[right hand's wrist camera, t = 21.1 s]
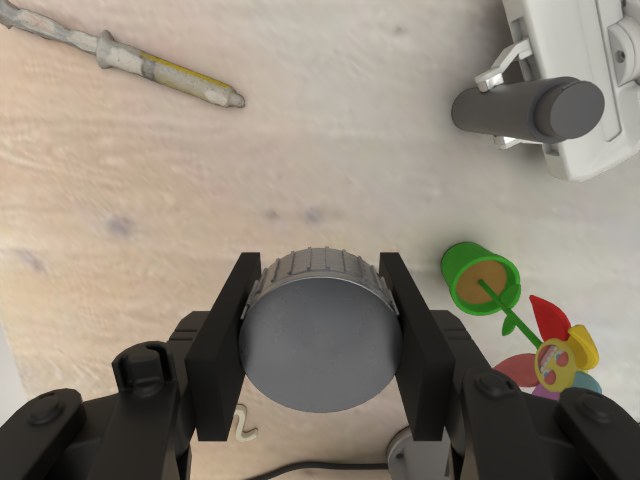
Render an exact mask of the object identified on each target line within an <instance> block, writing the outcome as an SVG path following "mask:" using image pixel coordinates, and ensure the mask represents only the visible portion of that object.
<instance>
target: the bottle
mask: <svg viewBox="0 0 640 480" xmlns="http://www.w3.org/2000/svg"><path fill="white" fill-rule="evenodd" d="M604 108H605V99H604V95H603V93H602V91H601V90H600V89H599V87H597V86H596V85H595V84H593V83H592V82H589V81H585V80H584V81H581V80H579V79H577V78H574V77H569V76H564V77H556V78H548V79H540V80H532V81H525V82H517V83H509V84H501V85H498V86H494V87H493V88H492V89H491V90H488V91H486V92H481V93H479V91H478V88H471V89H468V90H465V91H464V92H462V93H461V94H460V95H459V96H458V97H457V98H456V100H455V102H454V104H453V107H452V119H453V122H454V123H455V125H456V126H457V127H458V128H460V129H462V130H464V131H470V132H477V133H483V134H489V135H496V136H502V137H508V138H515V139H521V140H527V141H534V142H540V143H546V144H555V143H560V142H563V141H565V140H567V139H576V138H579V137H582V136H584V135H586V134H587V133H589V132H590V131H591V130H593V129H594V128H595V126H596V125H597V124H598V123H599V121H600V119H601V117H602V115H603V112H604Z"/></svg>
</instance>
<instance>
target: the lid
mask: <svg viewBox="0 0 640 480" xmlns="http://www.w3.org/2000/svg"><path fill="white" fill-rule="evenodd" d="M398 317H400V314H399V312H398V309H397V306H396V304H395V301H394V299H393V296H392V294H391V291H390V290H388V287H387V284H386V282H385V279H384V277H380V276H379V274H378V273H377V272H376V270H375V267H374V266H373V265H372V266H370V265H369V264H368V263H366V262H365V261H363V260H362V258H361V257H360V256H358V257H356V256H355V255H352V254H350V253H347V252H346V250H344V249H343V250H342V251H340V250H336V249H329V247H325V248H312V249H311V247H308V249H305V250H301V251H297V252H294V251H291V254H289V255H287V256H285V257H283V258H281V259H279V258H277V259H276V262H275V263H274V264H272V265H271V266H270V267H269V268H268V269H267V268H265V269H264V271H263V274H262V276H261V277H260V278H259V280H256V281H255V283H254V285H253V288H252V291H251V293H250V294H249V297H248V300H247V302H246V305H245V308H244V310H243V313H242V316H241V318H240V321H242V323H241V326H240V329H239V334H238V354H239V358H240V362H241V365H242V367H243V370H244V372H245V373H246V375H247V377H248V378H249V380H250V381H251V382H252V383H253V385H254V386H255V387H256V388H257V389H258V390H259V391H260V392H262V393H263V394H264V395H266V396H267V397H268V398H270V399H272V400H273V401H275V402H277V403H279V404H281V405H284V406H286V407H289V408H292V409H295V410H300V411H305V412H314V413H327V412H336V411H341V410H346V409H349V408H352V407H355V406H358V405H360V404H362V403H364V402H366V401H368V400H370V399H371V398H373V397H374V396H376V395H377V394H378V393H380V392H381V391H382V390H383V389H384V388H385V387H386V386H387V385H388V384H389V382H390V381H391V380H392V379H393V377H394V375H395V374H396V372H397V370H398V368H399V366H400V363H401V356H402V347H403V332H402V328H401V325H400V322H399V319H398Z"/></svg>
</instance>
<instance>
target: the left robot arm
mask: <svg viewBox="0 0 640 480" xmlns="http://www.w3.org/2000/svg"><path fill="white" fill-rule="evenodd" d="M502 2H503V5H504V9H505V13H506V16H507V20H508V24H509V27H510V31H511V35H512V38H513V42H514V44H512V45H510V46H508V47H507V48H505V49H503V51H502V52H501V54H500V55H499V56H498V58H497V59H496V61H495V62H494V63H493V65H492V66H491V69H490V70H488V71H486V72H484V73H482V74H480V75H479V76H477V77H475V82H476V85H477V88H478V91H479V93H481V92H486V91H488V90H491V89H492V88H493V87H494V86H498V85H500V84H502V83H504V81H503V77H502V73H503V72H504V71H505V70H506V68H507V67H508V66H509V65H510V63H511V62H514V61H518V60H519V64H520V68H521V72H522V75H523V79H524V82H525V81H532V80H540V79H548V78H556V77H564V76H569V77H574V78H577V79H579V80H581V81H584V80H585V81H589V82H592V83H593V84H595V85H596V86H597V87H599V89H600V90H601V91H602V93H603V95H604V99H605V108H604V112H603V115H602V117H601V119H600V121H599V123H598V124H597V125H596V126H595V128H594V129H593V130H591V131H590V132H589V133H587V134H586V135H584V136H582V137H579V138H576V139H567V140H565V141H563V142H560V143H555V144H546V143H540V142H534V141H527V140H521V139H515V138H508V137H502V136H496V135H493V137H494V141H495V145H496V148H497V149H501V150H503V149H507V148H509V147H511V146H514V145H516V144H518V143H533V144H541V145H542V149H543V153H544V156H545V160H546V164H547V167H548V171H549V174H550V175H551V176H553V177H555V178H558V179H561V180H564V181H568V182H583V181H586V180H588V179H590V178H593V177H595V176H597V175H599V174H601V173H603V172H605V171H607V170H609V169H611V168H613V167H615V166H617V165H618V164H620V163H622V162H624V161H626V160H627V159H629V158H631V157H632V156H634V155H635V154H636V153H637V152H639V151H640V0H502Z"/></svg>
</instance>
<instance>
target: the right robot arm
mask: <svg viewBox="0 0 640 480" xmlns="http://www.w3.org/2000/svg"><path fill="white" fill-rule="evenodd" d="M261 276H262V275H261V261H260V252H242V253H241V255H240V257H239V259H238V261H237V262H236V264H235V266H234V268H233V270H232V272H231V274H230V275H229V277H228V279H227V281H226V283H225V285H224V287H223V288H222V290H221V292H220V294H219V296H218V298H217V300H216V301H215V303H214V305H213V307H212V309H211V311H193V312H191V313H190V314H189V315H187V316H186V317H185V318H183V319H182V320H181V321H180V323H179V324H178V326H177V327H176V329H175V331H174V332H173V333H172V335H171V336H170V338H169V341H167V342H166V343H164V342H161V341H148V342H144V343H140V344H136V345H134V346H132V347H130V348H127V349H125V350H124V351H123V352H121V353H120V354H119V355H117V356H116V358H115V359H114V361H113V362H112V363H111V364H112V368H113V371H114V375H115V379H116V383H117V386H118V390H119V392H118V393H116V394H113V395H110V396H106V397H102V398H97V399H93V400H89V401H85V402H83V400H82V397H81V394H80V393H79V392H77V391H76V390H74V389H68V388H64V389H57V390H53V391H50V392H47V393H44V394H41V395H39V396H38V397H36V398H34V399H32V400H30V401H29V402H27V403H26V404H25V405H23V406H22V407H21V408H20V409H19V410H17V411H16V412H15V413H14V414H13V415H12V416H11V417H10V418H9V419H8V420H7V421H6V422H5V424H3V425H2V426H1V427H0V480H190V470H191V459H192V454H191V447H190V441H191V438H192V435H193V433H194V430H195V428H196V430H197V436H198V441H227V438H228V434H229V431H230V427H231V424H232V420H233V417H234V413H235V409H236V406H237V402H238V399H239V395H240V392H241V388H242V384H243V381H244V377H245V374H246V373H245V372H244V370H243V367H242V365H241V362H240V358H239V354H238V334H239V329H240V326H241V323H242V321H240V318H241V316H242V313H243V310H244V308H245V305H246V302H247V300H248V297H249V294H250V293H251V291H252V288H253V285H254V283H255V281H256V280H259V278H260V277H261ZM379 276H380V277H384V279H385V282H386V284H387V287H388V290H390V291H391V294H392V296H393V299H394V301H395V304H396V306H397V309H398V312H399V314H400V317H398V319H399V322H400V325H401V328H402V332H403V347H402V356H401V363H400V366H399V368H398V370H397V372H396V374H395V377H396V380H397V384H398V387H399V391H400V394H401V398H402V402H403V405H404V409H405V412H406V416H407V419H408V423H409V427H407V428H405V429H404V430H402V431H401V432H399V433H398V434H397V435H396V436H395V437H394V438H393V439H392V441H391V442H390V444H389V446H388V449H387V453H386V458H387V463H383V464H332V463H320V462H305V463H298V464H293V465H289V466H286V467H283V468H281V469H278V470H276V471H274V472H271V473H269V474H266V475H263V476H260V477H257V478H254V479H251V480H268V479H271V478H273V477H276V476H278V475H281V474H283V473H286V472H289V471H292V470H296V469H302V468H324V469H338V470H372V469H389V473H390V475H391V477H392V479H393V480H640V425H639V424H638V423H637V422H636V421H635V420H634V419H633V418H632V417H631V416H630V415H629V414H628V413H627V412H626V411H625V410H624V409H623V408H622V407H620V406H619V405H618V404H617V403H616V402H614V401H613V400H611V399H609V398H608V397H606V396H604V395H602V394H600V393H598V392H595V391H592V390H589V389H586V388H579V387H570V388H565V389H564V390H563V391H562V392H560V395H559V398H558V401H557V400H553V399H549V398H545V397H540V396H536V395H532V394H528V393H525V392H522V391H521V390H520V388H519V387H518V385H517V383H516V382H515V381H513V380H512V379H511V378H510V377H509V376H507V375H506V374H504V373H502V372H500V371H498V370H495V369H492V368H491V366H490V365H489V363H488V362H487V360H486V359H485V357H484V356H483V354H482V353H481V351H480V350H479V348H478V347H477V345H476V344H475V342H474V341H473V340H472V339H471V336H470V335H469V333H468V331H466V328H465V327H464V325H463V324H462V322H461V321H460V319H459V318H457V317H456V316H455V315H453V314H452V313H451V312H449V311H448V310H429V308H428V307H427V305H426V303H425V301H424V299H423V297H422V295H421V294H420V292H419V290H418V288H417V286H416V284H415V282H414V281H413V279H412V277H411V275H410V273H409V271H408V270H407V268H406V266H405V264H404V262H403V260H402V258H401V257H400V255H399V253H398V252H380V263H379Z"/></svg>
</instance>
